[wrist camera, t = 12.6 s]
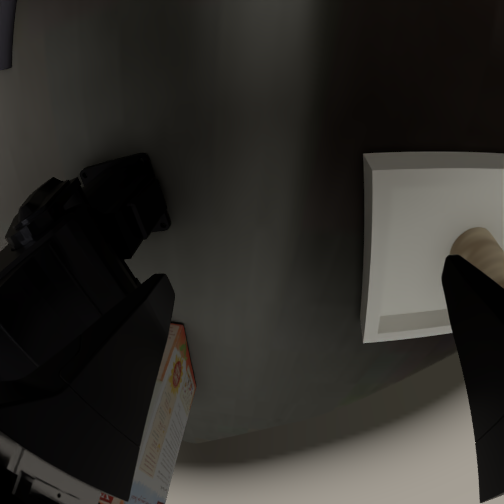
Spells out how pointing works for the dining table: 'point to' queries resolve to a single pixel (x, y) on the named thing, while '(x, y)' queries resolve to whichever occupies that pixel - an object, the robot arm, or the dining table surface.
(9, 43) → the dark grey t-shape
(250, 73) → the dining table surface
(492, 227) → the tray
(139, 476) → the cracker box
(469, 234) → the handle post
